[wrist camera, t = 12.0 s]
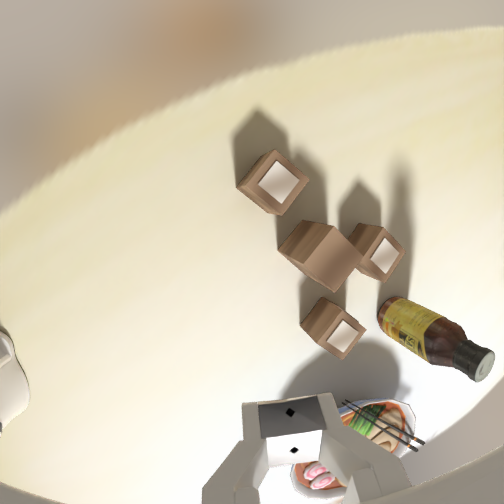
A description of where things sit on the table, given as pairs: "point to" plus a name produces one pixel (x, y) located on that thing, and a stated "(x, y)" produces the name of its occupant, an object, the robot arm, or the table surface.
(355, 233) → the white-paneled wooden block
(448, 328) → the sauce bottle
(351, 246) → the plain block
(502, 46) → the table surface
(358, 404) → the ramen bowl
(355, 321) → the white paneled block
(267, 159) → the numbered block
